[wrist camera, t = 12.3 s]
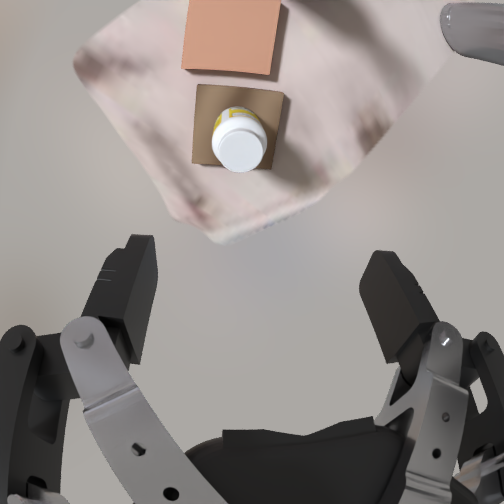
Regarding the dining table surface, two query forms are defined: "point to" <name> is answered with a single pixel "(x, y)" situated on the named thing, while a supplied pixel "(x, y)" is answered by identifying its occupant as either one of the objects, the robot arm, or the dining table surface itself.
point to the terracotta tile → (230, 35)
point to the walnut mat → (223, 97)
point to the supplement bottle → (239, 139)
